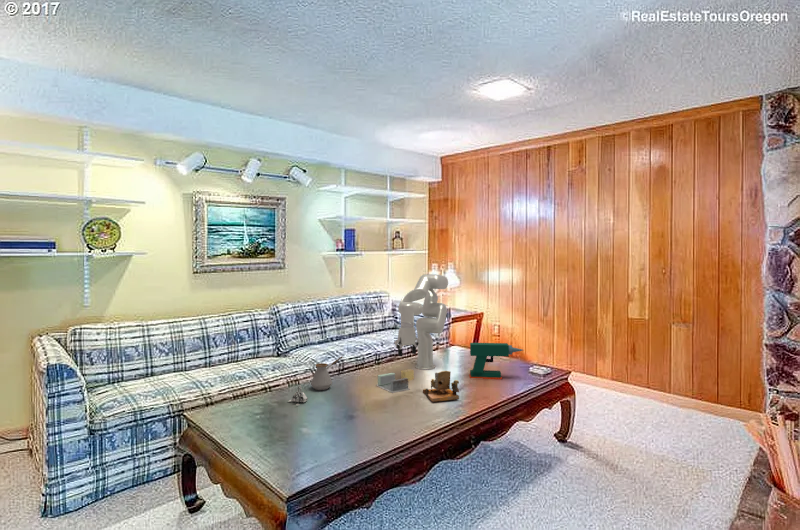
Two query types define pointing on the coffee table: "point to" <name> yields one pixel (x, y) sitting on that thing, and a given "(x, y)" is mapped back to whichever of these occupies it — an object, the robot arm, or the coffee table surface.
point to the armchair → (442, 388)
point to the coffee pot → (322, 376)
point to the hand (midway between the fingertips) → (407, 355)
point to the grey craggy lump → (299, 396)
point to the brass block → (407, 374)
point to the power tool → (481, 357)
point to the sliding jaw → (386, 378)
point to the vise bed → (388, 387)
